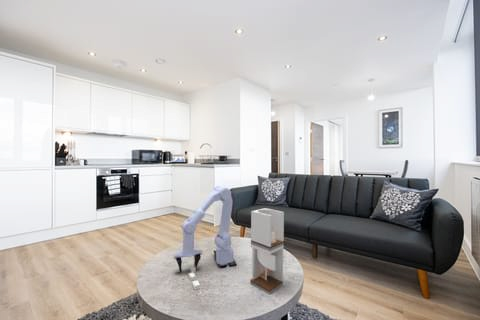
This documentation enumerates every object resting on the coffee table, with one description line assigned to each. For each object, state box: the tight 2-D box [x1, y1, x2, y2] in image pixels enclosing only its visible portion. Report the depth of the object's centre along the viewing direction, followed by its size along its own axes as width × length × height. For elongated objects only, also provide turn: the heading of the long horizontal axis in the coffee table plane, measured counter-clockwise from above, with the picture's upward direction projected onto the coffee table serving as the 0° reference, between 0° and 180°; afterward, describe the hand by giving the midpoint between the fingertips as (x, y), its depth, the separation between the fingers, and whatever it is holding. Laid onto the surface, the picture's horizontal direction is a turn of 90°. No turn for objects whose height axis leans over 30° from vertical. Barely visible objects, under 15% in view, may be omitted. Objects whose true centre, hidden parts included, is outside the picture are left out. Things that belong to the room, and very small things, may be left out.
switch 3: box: [191, 279, 201, 291], centre depth 100 cm, size 2×4×2 cm, turn 25°
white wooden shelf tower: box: [249, 207, 285, 295], centre depth 106 cm, size 11×11×35 cm
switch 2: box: [188, 272, 196, 282], centre depth 107 cm, size 2×4×2 cm, turn 25°
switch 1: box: [188, 264, 197, 273], centre depth 115 cm, size 2×4×2 cm, turn 25°
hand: (187, 270), depth 114 cm, fingers open, 7 cm apart
